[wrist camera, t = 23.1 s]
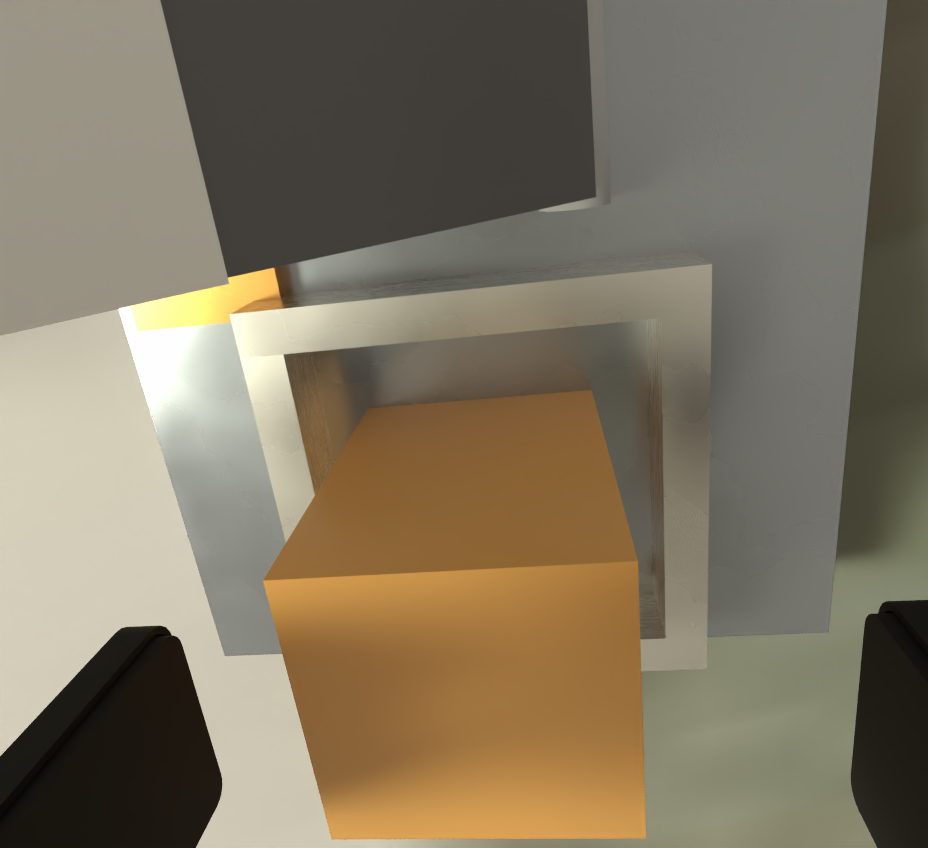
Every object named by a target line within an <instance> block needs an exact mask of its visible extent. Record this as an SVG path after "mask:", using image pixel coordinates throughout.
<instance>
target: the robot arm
mask: <svg viewBox="0 0 928 848" xmlns="http://www.w3.org/2000/svg"><path fill="white" fill-rule="evenodd" d="M851 785H852V791H853V795H854V799H855V802H856V805H857V807H858V809H859V812H860V814H861V816H862V818H863V820H864V822H865V824H866V826H867V828H868V830H869V832H870V834H871V836H872V838H873V840H874V842H875V844H876V846H877V848H928V600H916V601H887V602H884V603H882V605H881V607H880V608H879V613H878V614H870V615H868V616H867V618H866V621H865V627H864V638H863V649H862V660H861V671H860V681H859V692H858V703H857V714H856V725H855V736H854V746H853V757H852V768H851ZM221 791H222V777H221V773H220V769H219V766H218V763H217V759H216V756H215V753H214V749H213V746H212V743H211V739H210V736H209V733H208V730H207V726H206V723H205V720H204V716H203V713H202V710H201V706H200V703H199V700H198V696H197V693H196V690H195V686H194V683H193V680H192V676H191V673H190V670H189V666H188V663H187V660H186V656H185V653H184V650H183V647H182V644H181V641H180V640H179V639H178V638H177V637H176V636H172V635H171V633H170V631H169V630H168V629H167V628H166V627H163V626H141V627H125V628H121V629H120V630H119V631H118V632H116V633H115V634H114V635H113V636H112V637H111V639H110V640H109V641H108V642H107V643H106V644H105V645H104V646H103V647H102V648H101V649H100V650H99V651H98V652H97V654H96V655H95V656H94V657H93V658H92V659H91V660H90V661H89V662H88V663H87V664H86V665H85V666H84V667H83V669H82V670H81V671H80V672H79V673H78V674H77V675H76V676H75V677H74V678H73V679H72V680H71V681H70V682H69V683H68V685H67V686H66V687H65V688H64V689H63V690H62V691H61V692H60V693H59V694H58V695H57V696H56V697H55V698H54V700H53V701H52V702H51V703H50V704H49V705H48V706H47V707H46V708H45V709H44V710H43V711H42V712H41V713H40V715H39V716H38V717H37V718H36V719H35V720H34V721H33V722H32V723H31V724H30V725H29V726H28V727H27V728H26V729H25V731H24V732H23V733H22V734H21V735H20V736H19V737H18V738H17V739H16V740H15V741H14V742H13V743H12V744H11V746H10V747H9V748H8V749H7V750H6V751H5V752H4V753H3V754H2V755H1V756H0V848H196V846H197V844H198V842H199V840H200V838H201V836H202V834H203V832H204V831H205V829H206V827H207V825H208V823H209V821H210V819H211V817H212V815H213V813H214V811H215V809H216V807H217V805H218V803H219V800H220V796H221Z"/></svg>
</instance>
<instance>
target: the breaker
mask: <svg viewBox="0 0 928 848" xmlns="http://www.w3.org/2000/svg"><path fill="white" fill-rule="evenodd" d="M610 203H611V186H610V161H609V135H608V109H607V83H606V57H605V32H604V6H603V0H0V335H4V334H9V333H13V332H18V331H22V330H26V329H31V328H35V327H40V326H44V325H49V324H53V323H58V322H62V321H66V320H71V319H75V318H80V317H84V316H89V315H93V314H98V313H102V312H106V311H111V310H115V309H120V308H124V307H129V306H133V305H138V304H142V303H146V302H151V301H155V300H160V299H164V298H169V297H173V296H178V295H182V294H186V293H191V292H195V291H200V290H204V289H209V288H213V287H217V286H222V285H226V284H229V280H228V278H229V277H234V276H238V275H243V274H248V273H252V272H257V271H261V270H266V269H270V268H275V267H280V266H284V265H289V264H293V263H298V262H302V261H307V260H312V259H316V258H321V257H325V256H330V255H334V254H339V253H344V252H348V251H353V250H357V249H362V248H366V247H371V246H376V245H380V244H385V243H389V242H394V241H398V240H403V239H408V238H412V237H417V236H421V235H426V234H430V233H435V232H440V231H444V230H449V229H453V228H458V227H462V226H467V225H472V224H476V223H481V222H485V221H490V220H494V219H499V218H504V217H508V216H513V215H517V214H522V213H526V212H531V211H536V210H539V211H541V212H554V211H568V210H577V209H585V208H592V207H598V206H603V205H607V204H610Z"/></svg>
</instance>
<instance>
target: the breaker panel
mask: <svg viewBox="0 0 928 848" xmlns="http://www.w3.org/2000/svg"><path fill="white" fill-rule="evenodd" d="M603 6H604V32H605V57H606V83H607V109H608V135H609V161H610V186H611V203H610V204H607V205H603V206H598V207H592V208H585V209H577V210H568V211H554V212H541V211H539V210H536V211H531V212H526V213H522V214H517V215H513V216H508V217H504V218H499V219H494V220H490V221H485V222H481V223H476V224H472V225H467V226H462V227H458V228H453V229H449V230H444V231H440V232H435V233H430V234H426V235H421V236H417V237H412V238H408V239H403V240H398V241H394V242H389V243H385V244H380V245H376V246H371V247H366V248H362V249H357V250H353V251H348V252H344V253H339V254H334V255H330V256H325V257H321V258H316V259H312V260H307V261H302V262H298V263H293V264H289V265H284V266H280V267H275V268H270V269H266V270H261V271H257V272H252V273H248V274H243V275H238V276H234V277H229V278H228V280H229V284H226V285H222V286H217V287H213V288H209V289H204V290H200V291H195V292H191V293H186V294H182V295H178V296H173V297H169V298H164V299H160V300H155V301H151V302H146V303H142V304H138V305H133V306H129V307H124V308H120V309H119V312H120V315H121V319H122V322H123V325H124V329H125V332H126V335H127V338H128V342H129V345H130V348H131V351H132V355H133V358H134V361H135V364H136V368H137V371H138V374H139V377H140V381H141V384H142V387H143V390H144V394H145V397H146V400H147V403H148V407H149V410H150V413H151V417H152V420H153V423H154V426H155V430H156V433H157V436H158V439H159V443H160V446H161V449H162V452H163V456H164V459H165V462H166V465H167V469H168V472H169V475H170V478H171V482H172V485H173V488H174V491H175V495H176V498H177V501H178V505H179V508H180V511H181V514H182V518H183V521H184V524H185V527H186V531H187V534H188V537H189V540H190V544H191V547H192V550H193V553H194V557H195V560H196V563H197V566H198V570H199V573H200V576H201V579H202V583H203V586H204V589H205V593H206V596H207V599H208V602H209V606H210V609H211V612H212V615H213V619H214V622H215V625H216V628H217V632H218V635H219V638H220V641H221V645H222V648H223V651H224V654H225V656H236V655H262V654H282V650H281V647H280V643H279V639H278V635H277V632H276V628H275V624H274V620H273V617H272V613H271V609H270V605H269V602H268V598H267V594H266V590H265V587H264V583H263V580H264V578H265V576H266V575H267V573H268V572H269V570H270V568H271V567H272V565H273V563H274V562H275V560H276V558H277V557H278V555H279V554H280V552H281V550H282V549H283V547H284V545H285V544H286V542H287V540H288V539H289V537H290V536H291V534H292V532H293V531H294V529H295V527H296V526H297V524H298V522H299V521H300V519H301V518H302V516H303V514H304V513H305V511H306V509H307V508H308V506H309V504H310V503H311V501H312V500H313V498H314V496H315V495H316V493H317V491H318V490H319V488H320V486H321V485H322V483H323V482H324V480H325V478H326V477H327V475H328V473H329V472H330V470H331V468H332V467H333V465H334V464H335V462H336V460H337V459H338V457H339V455H340V454H341V452H342V450H343V449H344V447H345V446H346V444H347V442H348V441H349V439H350V437H351V436H352V434H353V432H354V431H355V429H356V428H357V426H358V424H359V423H360V421H361V419H362V418H363V416H364V414H365V413H366V411H367V410H368V408H378V407H390V406H402V405H414V404H426V403H438V402H451V401H463V400H475V399H487V398H499V397H511V396H523V395H535V394H547V393H559V392H571V391H583V390H592V393H593V396H594V400H595V404H596V407H597V411H598V415H599V418H600V422H601V426H602V430H603V433H604V437H605V441H606V444H607V448H608V452H609V455H610V459H611V463H612V466H613V470H614V474H615V478H616V481H617V485H618V489H619V492H620V496H621V500H622V503H623V507H624V511H625V515H626V518H627V522H628V526H629V529H630V533H631V537H632V540H633V544H634V548H635V552H636V555H637V559H638V575H639V609H640V643H641V671H661V670H690V669H707V637H723V636H748V635H774V634H800V633H825V632H829V624H830V614H831V603H832V592H833V581H834V570H835V560H836V549H837V538H838V527H839V516H840V506H841V495H842V484H843V473H844V463H845V452H846V441H847V430H848V419H849V409H850V398H851V387H852V376H853V365H854V355H855V344H856V333H857V322H858V311H859V301H860V290H861V279H862V268H863V258H864V247H865V236H866V225H867V214H868V204H869V193H870V182H871V171H872V160H873V150H874V139H875V128H876V117H877V106H878V96H879V85H880V74H881V63H882V53H883V42H884V31H885V20H886V9H887V0H603Z"/></svg>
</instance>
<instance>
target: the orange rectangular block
mask: <svg viewBox="0 0 928 848" xmlns="http://www.w3.org/2000/svg"><path fill="white" fill-rule="evenodd" d="M263 583H264V587H265V590H266V594H267V598H268V602H269V605H270V609H271V613H272V617H273V620H274V624H275V628H276V632H277V635H278V639H279V643H280V647H281V650H282V654H283V658H284V662H285V665H286V669H287V673H288V677H289V680H290V684H291V688H292V692H293V695H294V699H295V703H296V707H297V710H298V714H299V718H300V722H301V725H302V729H303V733H304V737H305V740H306V744H307V748H308V751H309V755H310V759H311V763H312V766H313V770H314V774H315V778H316V781H317V785H318V789H319V793H320V796H321V800H322V804H323V808H324V811H325V815H326V819H327V823H328V826H329V830H330V834H331V838H332V839H577V838H646V815H645V781H644V746H643V712H642V678H641V643H640V609H639V575H638V559H637V555H636V552H635V548H634V544H633V540H632V537H631V533H630V529H629V526H628V522H627V518H626V515H625V511H624V507H623V503H622V500H621V496H620V492H619V489H618V485H617V481H616V478H615V474H614V470H613V466H612V463H611V459H610V455H609V452H608V448H607V444H606V441H605V437H604V433H603V430H602V426H601V422H600V418H599V415H598V411H597V407H596V404H595V400H594V396H593V393H592V390H583V391H571V392H559V393H547V394H535V395H523V396H511V397H499V398H487V399H475V400H463V401H451V402H438V403H426V404H414V405H402V406H390V407H378V408H368V410H367V411H366V413H365V414H364V416H363V418H362V419H361V421H360V423H359V424H358V426H357V428H356V429H355V431H354V432H353V434H352V436H351V437H350V439H349V441H348V442H347V444H346V446H345V447H344V449H343V450H342V452H341V454H340V455H339V457H338V459H337V460H336V462H335V464H334V465H333V467H332V468H331V470H330V472H329V473H328V475H327V477H326V478H325V480H324V482H323V483H322V485H321V486H320V488H319V490H318V491H317V493H316V495H315V496H314V498H313V500H312V501H311V503H310V504H309V506H308V508H307V509H306V511H305V513H304V514H303V516H302V518H301V519H300V521H299V522H298V524H297V526H296V527H295V529H294V531H293V532H292V534H291V536H290V537H289V539H288V540H287V542H286V544H285V545H284V547H283V549H282V550H281V552H280V554H279V555H278V557H277V558H276V560H275V562H274V563H273V565H272V567H271V568H270V570H269V572H268V573H267V575H266V576H265V578H264V580H263Z"/></svg>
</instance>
